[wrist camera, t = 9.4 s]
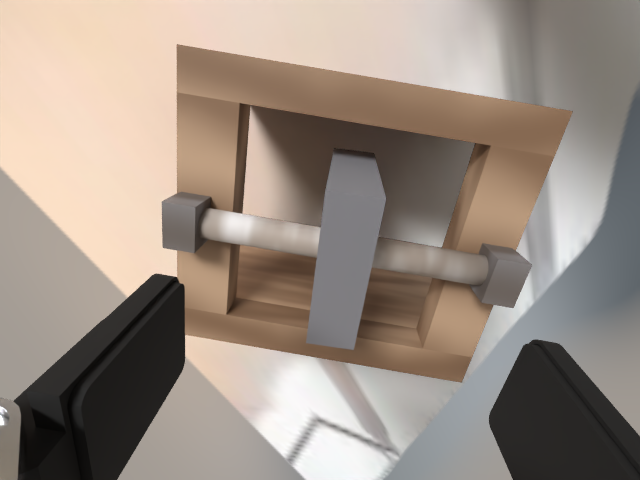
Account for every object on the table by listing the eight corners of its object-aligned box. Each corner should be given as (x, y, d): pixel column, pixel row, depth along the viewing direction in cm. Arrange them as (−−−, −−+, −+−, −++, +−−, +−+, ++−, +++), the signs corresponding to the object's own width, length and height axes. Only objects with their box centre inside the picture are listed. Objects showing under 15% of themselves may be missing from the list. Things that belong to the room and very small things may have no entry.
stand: (247, 70, 26) (153, 35, 13) (476, 108, 26) (604, 112, 13) (234, 255, 32) (161, 355, 19) (421, 287, 32) (472, 409, 19)
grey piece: (334, 148, 20) (325, 190, 13) (373, 153, 20) (386, 198, 13) (319, 261, 24) (306, 343, 17) (352, 266, 24) (353, 349, 17)
